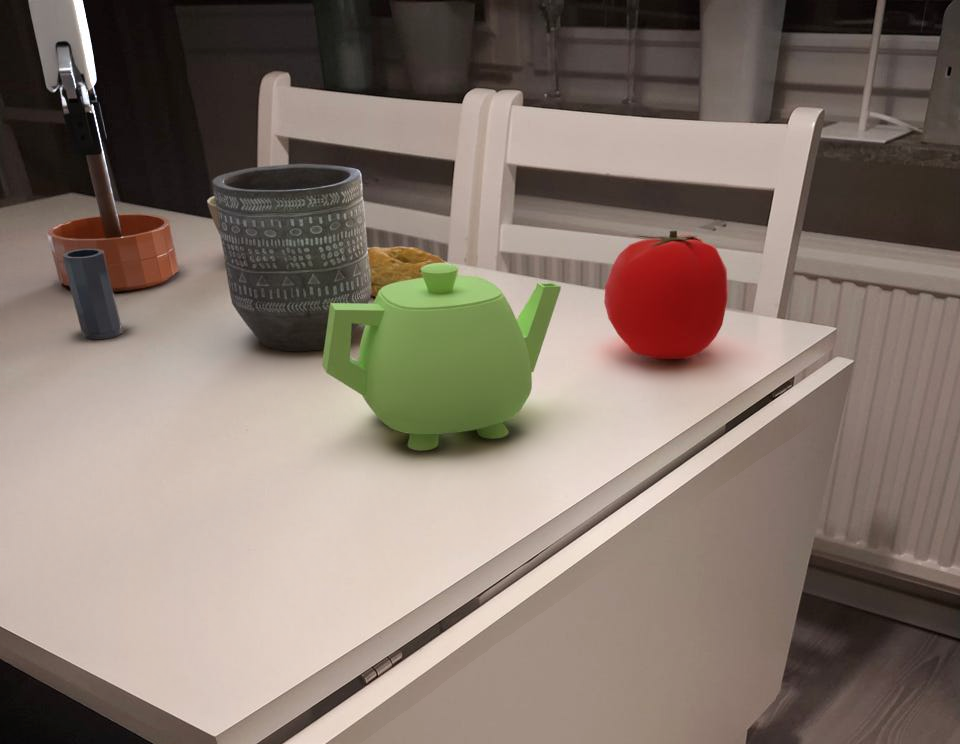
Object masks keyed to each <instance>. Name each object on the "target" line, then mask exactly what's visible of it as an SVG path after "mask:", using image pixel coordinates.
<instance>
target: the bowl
mask: <svg viewBox="0 0 960 744" xmlns="http://www.w3.org/2000/svg"><path fill="white" fill-rule="evenodd" d="M117 215H118V220H119V224H120V229H121V233H122V237H116V238H105V235H104V230H103V226H102V222H101V217H100V215H94V216H85V217H80V218H75V219H71V220H67V221H63V222H60V223H58V224H55V225H53V226H52V227H50V228H48V229H47V232H46V235H47V239H48V243H49V246H50V250H51V254H52V258H53V261H54V265H55V270H56V273H57V277H58V281H59V282H60V283H62V285H64V286H68V287H70V285H69V281H68V277H67V273H66V269H65V265H64V262H63V258H62V256H63V254H64V253H66V252H69V251H72V250H79V249H100V250H103V251H104V254H105V258H106V262H107V267H108V271H109V275H110V279H111V284H112V288H113V292H114V293H119V292H120V293H121V292H129V291H135V290H140V289H141V290H142V289H146V288H150V287H153V286H156V285H159V284H161V283H164V282H166V281H168V280H169V279H171V277H173V276H174V275H175V274H176V273H178V272H179V265H178V264H179V263H178V258H177V254H176V253H177V252H176V248H175V244H174V243H175V242H174V237H173V233H172V228H171V223H170V220H169V219H168V218H166V217H164V216H161V215H156V214H149V213H148V214H147V213H117Z"/></svg>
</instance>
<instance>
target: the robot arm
mask: <svg viewBox="0 0 960 744" xmlns="http://www.w3.org/2000/svg"><path fill="white" fill-rule="evenodd" d="M27 2H28V8H29V11H30V17H31V22H32V26H33V31H34V35H35V40H36V44H37V49H38V53H39V58H40V63H41V66H42V67H41V68H42V73H43V77H44V82H45V86H46V89H47V90H48V91H49V92H51V93H55V92H56V91H57V90H58V89H59V92H60V98H61V104H62V105H61V106H62V110H63V119H64V124H65V128H66V131H67V136H68V140H69V144H70V149H71V152H72V153H71V154H72V155H74V156H75V157H80V156H81V157H82V156H86V155H99V154H101V153H102V148H103V146H102V147H101V143H105V142H107V139H108V138H107V133H106V129H105V124H104V119H103V115H102V110H101V105H100V102H99V101H98V100H97V99H98V98H97V94H96V90H95V87H94V86H95V85H96V83H97V72H96V66H95V59H94V53H93V46H92V42H91V36H90V30H89V25H88V21H87V17H86V11H85V7H84V1H83V0H27ZM90 103H91V104H93V107H94V112H95V115H94V112H91V109H90ZM95 116H96V120H95ZM96 121H97V124H96ZM97 125H98V129H97ZM98 130H99V133H98ZM99 134H100V138H99ZM100 139H101V142H100Z"/></svg>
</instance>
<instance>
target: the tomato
mask: <svg viewBox="0 0 960 744" xmlns="http://www.w3.org/2000/svg"><path fill="white" fill-rule="evenodd" d="M636 237H639V238H645V239H642V240H638V241H635V242H632V243H629V244H628V245H627V246H626V247H625V248H624V249H623V250H622V251H621V252H620V253H619V254H618V255H617V257H616V259H615V260H614V262H613V264H612V267H611V269H610V272H609V275H608V278H607V281H606V284H605V287H604V299H603V300H604V301H603V302H604V308H605V311H606V314H607V318H608V320H609V322H610V323H611V326H612V327H613V329H614V330H615V332H616V334H617V335H618V336H619V338H620V339H621V340H622V341H623V342H624V343H625V344H626V345H627V347H629V348H630V350H631V351H632V352H633V353H635V354H637V355H639V356H643V357H647V358H652V359H655V360H681V359H682V360H684V359H688V358H691V357H693V356H695V355H697V354H699V353H701V352H702V351H703V350H705V349H706V348H708V347H709V345H710V344H711V343H712V342H713V341H714V340H715V339H716V338H717V335H718V334H719V332H720V330H721V328H722V326H723V324H724V318H725V314H726V308H727V303H728V297H729V289H728V269H727V266H726V265H725V262H724V261H723V259H722V257H721V255H720V253H719V251H718V249H717V247H716V246H715V245H711V244H709V243H706V242H704V241H703V240H702V239H701V238H699V237H698V236H696V235H692V234H680V235H678V230H669V235H667V236H665V235H663V236H647V235H645V236H644V235H636Z"/></svg>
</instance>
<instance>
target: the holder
mask: <svg viewBox="0 0 960 744" xmlns="http://www.w3.org/2000/svg"><path fill="white" fill-rule="evenodd" d="M62 258H63V262H64V265H65V269H66V273H67V277H68V281H69V285H70V286H69V288H70V293H71V296H72V299H73V304H74V307H75V311H76V315H77V319H78V323H79V328H80V331H81V332H82V336H83V338H85V339H88V340H94V341H95V340H107V339H111V338H116V337H118V336H120V335H121V334H122V333H123V329H122V323H121V318H120V314H119V310H118V306H117V301H116V296H115V292H113V288H112V284H111V279H110V275H109V271H108V267H107V262H106V258H105V254H104V251H103V250H100V249H79V250H72V251H69V252H66V253H64V254H63V256H62Z"/></svg>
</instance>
